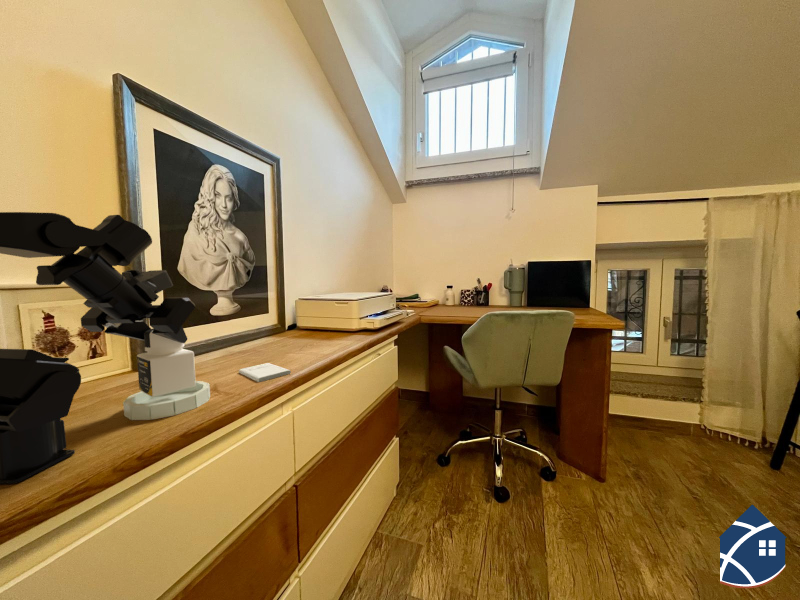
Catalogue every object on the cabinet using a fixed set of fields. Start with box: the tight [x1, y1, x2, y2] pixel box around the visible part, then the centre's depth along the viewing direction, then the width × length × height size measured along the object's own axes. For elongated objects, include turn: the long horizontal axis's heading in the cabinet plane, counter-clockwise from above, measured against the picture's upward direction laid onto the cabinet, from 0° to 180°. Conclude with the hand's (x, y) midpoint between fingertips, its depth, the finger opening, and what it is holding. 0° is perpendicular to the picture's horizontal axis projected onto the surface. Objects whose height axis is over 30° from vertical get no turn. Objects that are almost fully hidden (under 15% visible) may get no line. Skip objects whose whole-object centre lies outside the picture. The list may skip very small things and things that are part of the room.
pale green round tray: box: [122, 380, 211, 421], centre depth 59 cm, size 13×13×2 cm
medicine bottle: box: [136, 328, 197, 397], centre depth 58 cm, size 7×7×12 cm
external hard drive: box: [238, 362, 292, 383], centre depth 78 cm, size 2×8×12 cm
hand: (171, 341), depth 59 cm, fingers closed on medicine bottle, 6 cm apart
